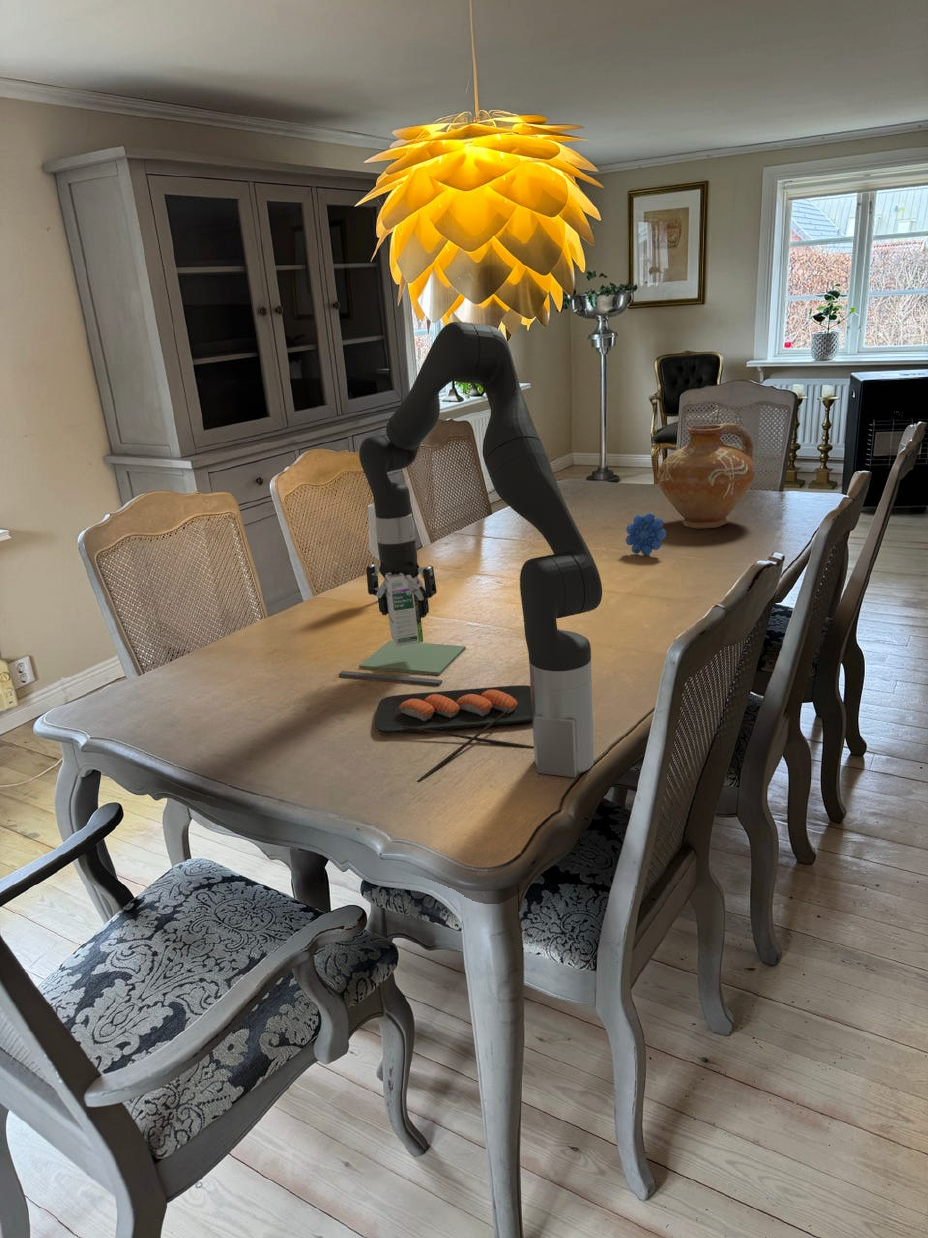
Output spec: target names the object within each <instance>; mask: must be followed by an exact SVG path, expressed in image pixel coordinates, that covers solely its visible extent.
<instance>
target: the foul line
mask: <svg viewBox="0 0 928 1238" xmlns="http://www.w3.org/2000/svg"><path fill="white" fill-rule="evenodd" d="M338 676H339V677H342V678H353V679H361V678H363V680H364V679H365V680H372V679H373V680H375V681H381V682H382V681H384V682H395V683H405V684H417V685H426V686H438V687H439V686H441V685H442V684H443V680H442V679H438V678H437V679H435V678H425V677H424V678H423V677H415V676H414V677H413V676H404V675H393V674H392V675H391V674H383V673H382V674H381V673H370V672H359V671H351V670H350V671H349V670H341V671H340V672H339V673H338ZM373 680H372V681H373Z"/></svg>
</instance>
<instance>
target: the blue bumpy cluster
mask: <svg viewBox="0 0 928 1238" xmlns="http://www.w3.org/2000/svg"><path fill="white" fill-rule="evenodd" d="M663 526H664V520H663V519H662V518H660V517H659V518H658V517H657V518H656V517H655V515H654V513H653V512H648V513H646V514H645V515H640V514H638V515H635V517H634V518H633V523H630V524H628V525H627V526H626V529H625V531H626V533H627V534H628V535H627V536H626V537H625V543H626V545H628V546H631V552H632V553H634V554H639V553H641V554H642V555H644V556H649V555H651V554H652V551H657V550H659V549H661V547H662V545H663V544H662V541H661V540H663V539H665V538H666V535H667V531H666V530H665V529H664V528H663Z"/></svg>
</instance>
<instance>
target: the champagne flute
mask: <svg viewBox="0 0 928 1238" xmlns="http://www.w3.org/2000/svg"><path fill="white" fill-rule="evenodd" d="M367 513H368V514H367V515H368V516H367V517H368V521H367V522H368V551H369V553H370V555H372V556H373V557H374V558H376V559H377V560H378V561H380V560H379V552H378V544H377V535H376V515H375V506H374V503H371V504H368V505H367ZM374 599H375V601H376V602H378V598H377V596H375V598H374Z"/></svg>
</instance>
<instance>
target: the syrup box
mask: <svg viewBox="0 0 928 1238" xmlns="http://www.w3.org/2000/svg"><path fill="white" fill-rule="evenodd" d="M387 574H388V573H386V575H387ZM386 575H385V577H386V582H387V589H386V599H387V607H388V614H387V615H388V621H389V630H390V638H391V639H392V641H394V643H395V645H396V646H397V647H398V646H401V645H407V644H413V643H424V636H423V635H424V634H423V625H422V618H420V617H419V607H418V600H419V599H418V597H417V596H416V595H415V593H413V592H411V591H410V589H409V588H408V582H407V579H405V578H404V576H399V574H393V575H387V576H386ZM406 577H407V578H408V579H409V580H411V581H412V583H413V584H414V585H417V577H418V576H417V577H415V578H412V577H411V575H406ZM384 579H385V578H384V577H383V580H384Z"/></svg>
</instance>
